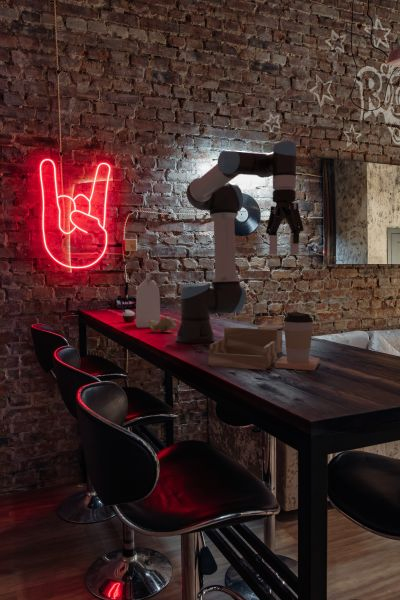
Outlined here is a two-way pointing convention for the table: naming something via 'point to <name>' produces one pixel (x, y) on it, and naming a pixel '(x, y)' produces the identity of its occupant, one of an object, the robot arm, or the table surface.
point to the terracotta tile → (297, 364)
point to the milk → (147, 303)
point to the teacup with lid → (273, 325)
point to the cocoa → (127, 314)
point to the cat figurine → (163, 324)
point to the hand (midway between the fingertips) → (283, 254)
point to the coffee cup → (298, 336)
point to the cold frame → (245, 348)
